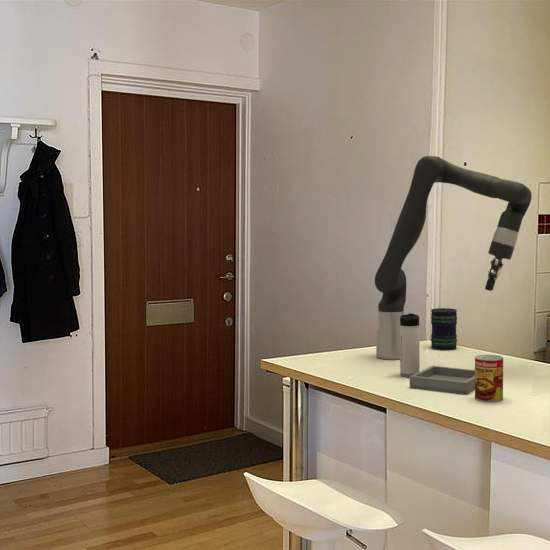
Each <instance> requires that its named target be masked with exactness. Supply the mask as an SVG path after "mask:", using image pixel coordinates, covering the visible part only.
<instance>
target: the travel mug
mask: <svg viewBox="0 0 550 550" xmlns="http://www.w3.org/2000/svg"><path fill="white" fill-rule="evenodd" d="M400 322H401V323H400V359H399V363H400V364H399V370H400V373H399V375H400V376H401V377H405V378H410V376H412V375H414V374H416V373H418V372H420V371H421V370H420V369H421V368H420V364H421V363H420V362H421V361H420V359H421V357H420V354H421V353H420V316H419V315H418V314H415V313H408V314H404V315H402V316H400Z"/></svg>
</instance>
